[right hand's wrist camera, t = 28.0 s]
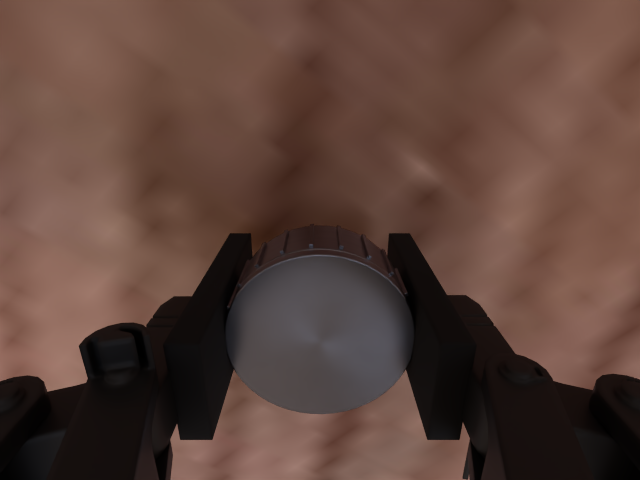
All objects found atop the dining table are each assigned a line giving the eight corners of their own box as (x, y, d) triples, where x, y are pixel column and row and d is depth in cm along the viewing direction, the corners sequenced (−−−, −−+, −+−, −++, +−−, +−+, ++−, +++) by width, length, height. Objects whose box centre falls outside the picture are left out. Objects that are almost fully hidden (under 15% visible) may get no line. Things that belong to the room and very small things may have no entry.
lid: (394, 209, 11) (411, 236, 9) (408, 356, 13) (424, 404, 11) (218, 236, 12) (197, 268, 10) (257, 375, 13) (247, 426, 11)
